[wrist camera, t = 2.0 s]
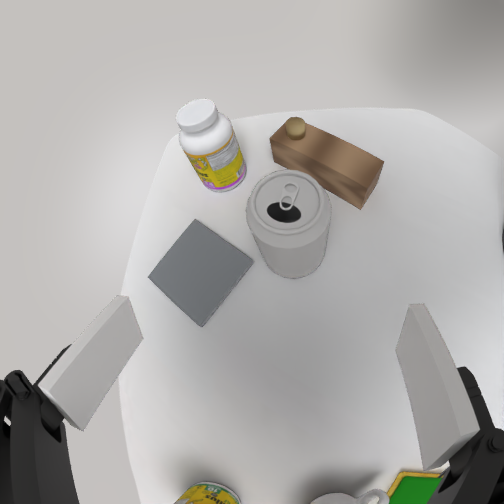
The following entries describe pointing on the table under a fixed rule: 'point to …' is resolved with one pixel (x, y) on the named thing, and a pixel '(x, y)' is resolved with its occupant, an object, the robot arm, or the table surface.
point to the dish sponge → (413, 488)
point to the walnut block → (327, 160)
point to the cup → (347, 503)
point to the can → (290, 222)
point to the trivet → (200, 272)
